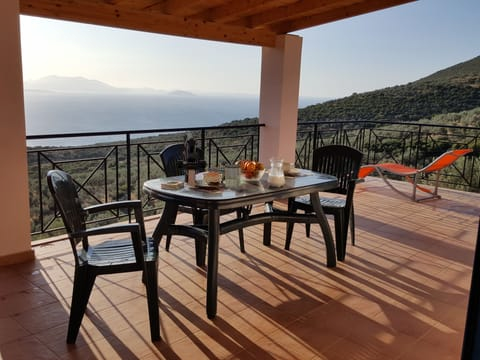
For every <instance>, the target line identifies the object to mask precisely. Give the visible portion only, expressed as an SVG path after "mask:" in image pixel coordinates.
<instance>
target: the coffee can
mask: <svg viewBox="0 0 480 360" xmlns="http://www.w3.org/2000/svg"><path fill="white" fill-rule="evenodd" d="M224 167H225V168H224V169H225V172H224V184H225V186H224V188H229V189H230V188H231V189H238V188H241V180H242V179H241V175H242V172H241V169H242V166H241V164H236V163H235V164H234V163H228V164H225V165H224Z"/></svg>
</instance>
